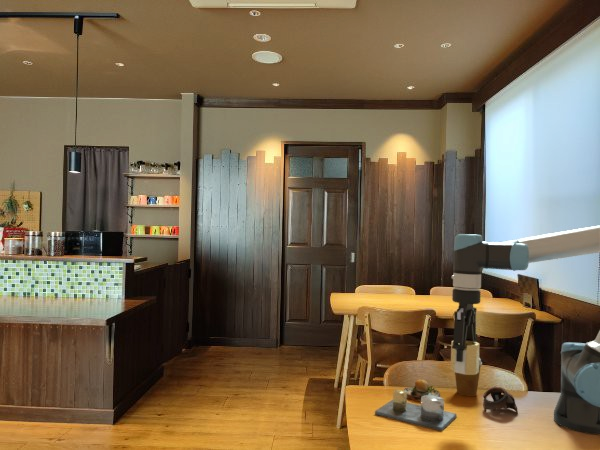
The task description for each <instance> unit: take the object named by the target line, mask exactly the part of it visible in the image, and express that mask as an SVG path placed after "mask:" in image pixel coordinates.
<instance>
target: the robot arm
mask: <svg viewBox="0 0 600 450" xmlns="http://www.w3.org/2000/svg"><path fill="white" fill-rule="evenodd" d="M598 253H600V225H595V226H590V227H588V226H587V227H583V228H578V229H577V228H576V229H572V230H566V231H564V230H563V231H559V232H553V233H545V234H541V235H536V236H528V237H523V238H518V239H512V240H505V241H495V242H494V241H491V242H490V241H484V239H483V236H482V235H481V234H470V233H469V234H467V233H466V234H465V233H458V234H456V236H455V237H454V244H453V266H452V267H453V269H452V271H453V275H451V277H450V278H451V280H452V286H453V289H452V296H451V298H452V301H453V303H458V308H457V309H456V311H454V313H453V314H454V317H453V318H454V322H453V323H454V324H453V339H452V341H453V346H452V348H453V349H455V372H456V373H461V374H465V367H466V350H465V343H466V340H469V341H474V342H477V341H476V340H477V321H476V320H477V310H478V309H477V307H475V306H474V305H478V304H480V303H481V294H482V293H481V290H479V289H481V288H482V269H487V270H488V269H491V270H502V271H504V270H508V271H514V272H515V271H526V270H527V269H528V267H529V264H531V263H538V262H545V261H551V260H559V259H565V258H571V257H579V256H584V255H585V256H586V255H593V254H598ZM560 355H561V358H560V360H561V361H560V365H561V366H560V394H559V396H558V399H557V402H556V405H555V408H554V411H553V420H554V421H555V423H557V424H558V425H559V426H562V427H563V428H566V429H569V430H572V431H576V432H580V433H583V434H585V433H586V434H592V435H600V330H599V331H598V333H597V335H596V337H595V339H594V340H592V341H591V340H590V341H589V342H588V341H587V342H586V343H582V342H570V341H569V342H563V343H562V344H561V351H560ZM455 372H454V373H455Z"/></svg>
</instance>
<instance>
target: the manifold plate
mask: <svg viewBox="0 0 600 450" xmlns="http://www.w3.org/2000/svg"><path fill="white" fill-rule="evenodd" d="M392 397H393V398H392V400H390V401H389V402H387V403H385V404H383V405H382V406H381V407H379V408H378V409H376V410H374V415H376V416H380V417H385V418H388V419H392V420H396V421H400V422H404V423H407V424H412V425H416V426H420V427H423V428H428V429H432V430H436V431H440V432H443V431H444V430H445V429H446V428H447V427H448V426H449V425H450V424H451V423H452V422H453V421H455V419H456V418H457V413H456V412H455V413H454V412H451V411H447V410H445V399H444V398H443V397H441V396H440V397H438V396H433V395H425V396H422V397H421V402H420V404H416V403H411V402H407V401H408V400H407V399H408V398H407V392H406V391H404V389H395V390H393V392H392Z"/></svg>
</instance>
